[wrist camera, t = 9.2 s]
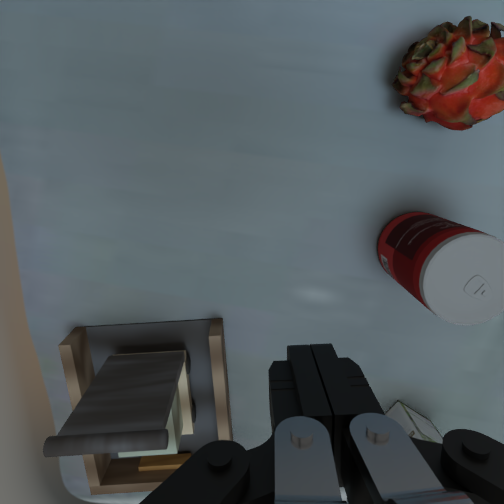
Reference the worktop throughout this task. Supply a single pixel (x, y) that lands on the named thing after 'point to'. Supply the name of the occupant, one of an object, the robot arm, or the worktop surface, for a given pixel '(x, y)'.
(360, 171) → the worktop surface
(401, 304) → the worktop surface
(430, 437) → the syrup box
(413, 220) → the canned food
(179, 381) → the grey l-shaped piece
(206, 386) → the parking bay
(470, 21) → the dragon fruit
